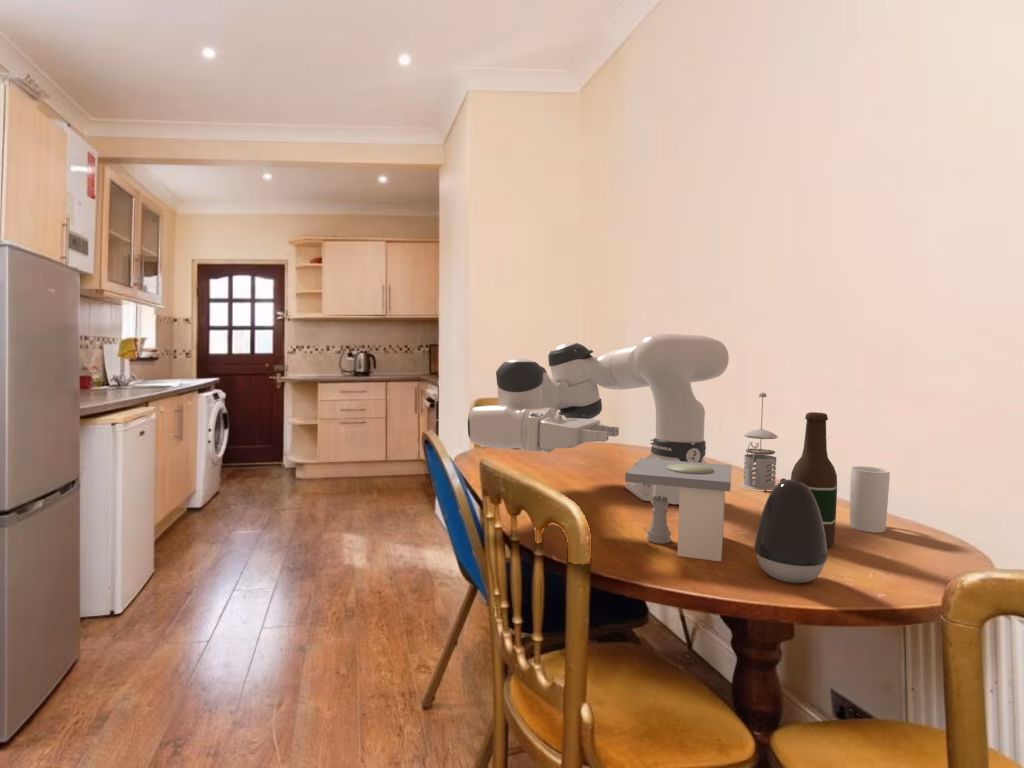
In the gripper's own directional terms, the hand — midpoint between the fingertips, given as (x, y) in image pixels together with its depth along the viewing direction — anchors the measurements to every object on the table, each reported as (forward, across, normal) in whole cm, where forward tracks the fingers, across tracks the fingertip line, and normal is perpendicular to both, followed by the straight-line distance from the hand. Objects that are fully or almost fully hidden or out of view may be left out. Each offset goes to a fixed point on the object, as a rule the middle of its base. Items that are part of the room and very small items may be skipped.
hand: (613, 434), depth 114 cm
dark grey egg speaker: (+30, +10, -19) cm, 37 cm away
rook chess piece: (+9, 0, -19) cm, 21 cm away
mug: (+47, -28, -19) cm, 58 cm away
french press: (+26, -58, -18) cm, 66 cm away
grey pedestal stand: (+12, 0, -19) cm, 23 cm away
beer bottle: (+35, -11, -19) cm, 41 cm away
